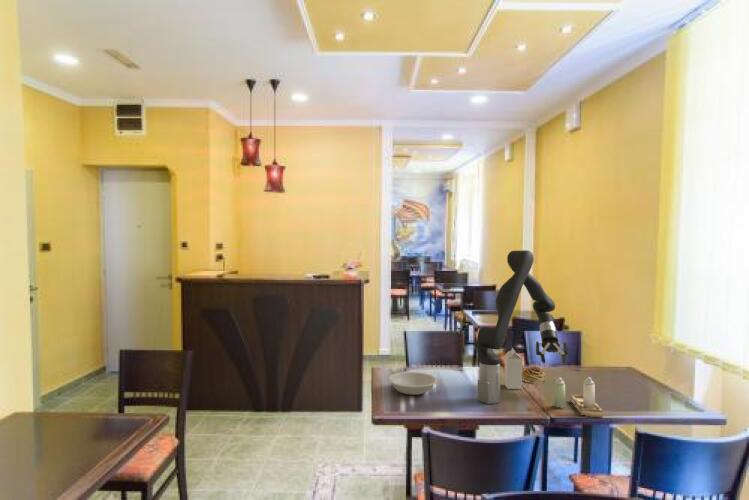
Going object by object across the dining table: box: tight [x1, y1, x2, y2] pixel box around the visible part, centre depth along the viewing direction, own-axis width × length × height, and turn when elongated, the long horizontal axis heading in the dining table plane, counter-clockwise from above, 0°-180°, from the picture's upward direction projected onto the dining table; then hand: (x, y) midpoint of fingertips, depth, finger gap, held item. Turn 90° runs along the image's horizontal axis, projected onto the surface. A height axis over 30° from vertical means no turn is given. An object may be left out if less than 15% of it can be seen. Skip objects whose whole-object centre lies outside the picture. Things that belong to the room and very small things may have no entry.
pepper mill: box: [553, 377, 566, 408], centre depth 197 cm, size 4×4×13 cm
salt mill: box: [582, 376, 596, 409], centre depth 190 cm, size 4×4×13 cm
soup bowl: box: [387, 371, 439, 396], centre depth 215 cm, size 24×24×7 cm
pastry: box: [522, 365, 547, 383], centre depth 237 cm, size 13×15×8 cm
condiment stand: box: [569, 394, 604, 418], centre depth 194 cm, size 18×8×3 cm, turn 171°
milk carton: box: [504, 347, 523, 390], centre depth 224 cm, size 7×7×19 cm
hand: (553, 362), depth 208 cm, fingers open, 8 cm apart
